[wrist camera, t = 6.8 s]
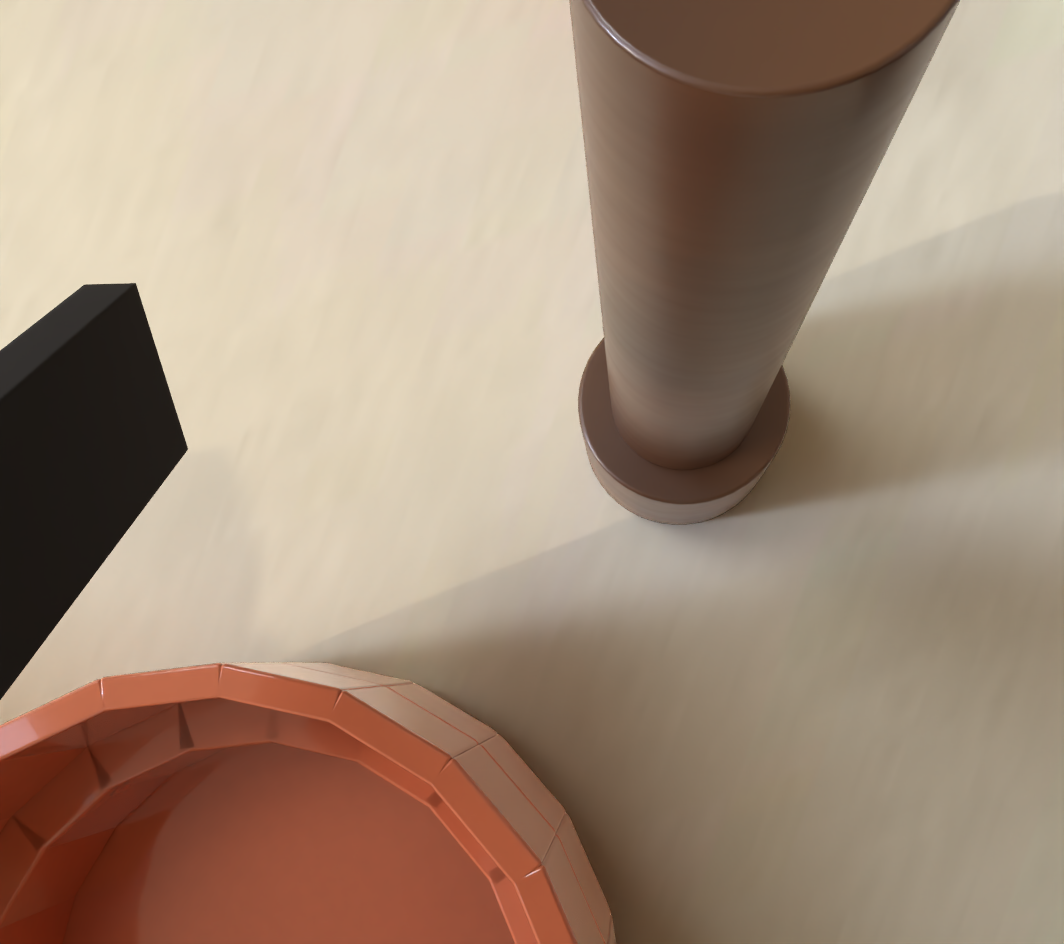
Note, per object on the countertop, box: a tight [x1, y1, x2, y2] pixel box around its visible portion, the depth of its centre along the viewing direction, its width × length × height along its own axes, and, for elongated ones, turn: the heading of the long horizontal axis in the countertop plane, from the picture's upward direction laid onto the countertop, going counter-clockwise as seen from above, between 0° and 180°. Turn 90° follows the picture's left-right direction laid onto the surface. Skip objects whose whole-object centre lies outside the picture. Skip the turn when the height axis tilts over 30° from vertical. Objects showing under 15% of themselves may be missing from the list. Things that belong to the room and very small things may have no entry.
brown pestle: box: [569, 0, 960, 524], centre depth 14 cm, size 4×4×16 cm
